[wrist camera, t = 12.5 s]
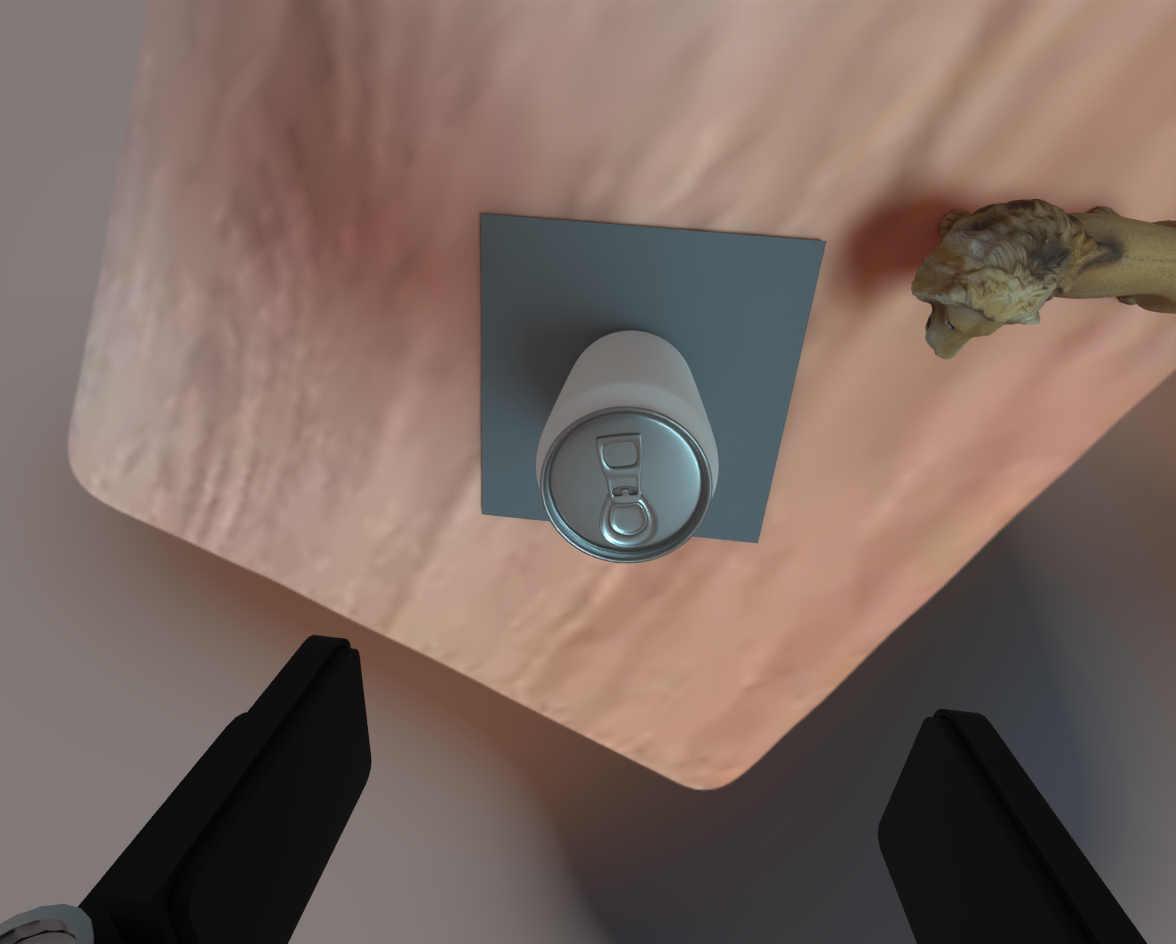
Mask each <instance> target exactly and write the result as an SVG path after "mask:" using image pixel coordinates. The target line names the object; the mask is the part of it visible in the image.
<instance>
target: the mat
mask: <svg viewBox="0 0 1176 944" xmlns="http://www.w3.org/2000/svg"><path fill="white" fill-rule="evenodd" d="M825 244H826V241H817V240H804V239H792V238H779V237H767V236H754V235H742V234H730V233H717V232H705V231H692V230H680V229H667V228H655V227H642V226H630V225H618V224H605V223H593V222H580V221H568V220H555V219H543V218H530V217H518V216H506V215H493V214H481V406H482V514H484V515H494V516H503V517H513V518H522V519H532V520H542V521H550V520H549V518H548V516H547V514H546V512H545V509H544V507H543V503H542V499H541V494H540V488H539V485H538V480H537V474H536V457H537V450H538V445H539V441H540V438H541V435H542V433H543V430H544V427H545V425H546V423H547V421H548V418H549V416H550V414H551V412H552V410H553V408H554V405H555V403H556V401H557V399H558V397H559V395H560V393H561V391H562V388H563V386H564V384H565V382H566V380H567V378H568V376H569V374H570V372H571V370H572V368H573V366H574V364H575V363H576V361H577V360H578V358H579V357H580V355H581V354H582V353H583V352H584V351H585V350H586V349H587V348H588V347H589V346H590V345H591V344H592V343H594V342H595V341H597V340H598V339H600V338H602V337H604V336H606V335H609V334H612V333H615V332H620V331H629V330H634V331H643V332H647V333H651V334H654V335H656V336H659V337H661V338H662V339H664V340H666V341H667V342H669V343H670V344H671V345H672V346H674V347H675V348H676V349H677V350H678V351H679V353H680V354H681V355H682V356H683V358H684V359H685V361H686V363H687V365H688V367H689V369H690V371H691V373H692V376H693V379H694V381H695V384H696V387H697V389H698V392H699V395H700V398H701V400H702V403H703V406H704V409H705V412H706V415H707V417H708V420H709V423H710V426H711V429H712V432H713V435H714V439H715V443H716V447H717V452H718V463H719V471H718V480H717V485H716V489H715V492H714V494H713V497H712V499H711V503H710V507H709V510H708V512H707V515H706V517H705V519H704V521H703V523H702V524H701V526H700V527H699V529H698V530H697V531H696V532H695V534H694V535H693V536H694V537H704V538H713V539H723V540H732V541H742V542H751V543H758V540H759V536H760V531H761V527H762V523H763V518H764V514H765V509H766V505H767V500H768V496H769V492H770V487H771V483H772V478H773V474H774V469H775V465H776V461H777V456H778V452H779V447H780V443H781V439H782V434H783V430H784V425H785V421H786V416H787V412H788V408H789V403H790V399H791V394H792V390H793V385H794V381H795V377H796V372H797V368H798V363H799V359H800V354H801V350H802V346H803V341H804V337H805V332H806V328H807V323H808V319H809V315H810V310H811V306H812V301H813V297H814V292H815V288H816V284H817V279H818V275H819V270H820V266H821V261H822V257H823V253H824V248H825Z"/></svg>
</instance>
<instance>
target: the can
mask: <svg viewBox="0 0 1176 944" xmlns="http://www.w3.org/2000/svg"><path fill="white" fill-rule="evenodd" d="M718 471H719V463H718V452H717V447H716V443H715V439H714V435H713V432H712V429H711V426H710V423H709V420H708V417H707V415H706V412H705V409H704V406H703V403H702V400H701V398H700V395H699V392H698V389H697V387H696V384H695V381H694V379H693V376H692V373H691V371H690V369H689V367H688V365H687V363H686V361H685V359H684V358H683V356H682V355H681V354H680V353H679V351H678V350H677V349H676V348H675V347H674V346H672V345H671V344H670V343H669V342H667V341H666V340H664V339H662V338H661V337H659V336H656V335H654V334H651V333H647V332H643V331H634V330H629V331H620V332H615V333H612V334H609V335H606V336H604V337H602V338H600V339H598V340H597V341H595V342H594V343H592V344H591V345H590V346H589V347H588V348H587V349H586V350H585V351H584V352H583V353H582V354H581V355H580V357H579V358H578V360H577V361H576V363H575V364H574V366H573V368H572V370H571V372H570V374H569V376H568V378H567V380H566V382H565V384H564V386H563V388H562V391H561V393H560V395H559V397H558V399H557V401H556V403H555V405H554V408H553V410H552V412H551V414H550V416H549V418H548V421H547V423H546V425H545V427H544V430H543V433H542V435H541V438H540V441H539V445H538V450H537V457H536V474H537V480H538V485H539V488H540V494H541V499H542V503H543V507H544V509H545V512H546V514H547V516H548V518H549V520H550V522H551V523H552V525H553V526H554V528H555V529H556V530H557V532H558V533H559V534H560V535H561V536H562V537H563V538H564V539H565V540H566V541H567V542H568V543H570V544H571V545H572V546H574V547H575V548H577V549H578V550H580V551H582V552H583V553H585V554H587V555H590V556H592V557H595V558H597V559H601V560H604V561H609V562H615V563H639V562H646V561H650V560H654V559H657V558H660V557H662V556H665V555H667V554H669V553H671V552H673V551H674V550H676V549H678V548H679V547H680V546H682V545H683V544H684V543H686V542H687V541H688V540H689V539H690V538H691V537H692V536H693V535H694V534H695V532H696V531H697V530H698V529H699V527H700V526H701V524H702V523H703V521H704V519H705V517H706V515H707V512H708V510H709V507H710V503H711V499H712V497H713V494H714V492H715V489H716V485H717V480H718Z"/></svg>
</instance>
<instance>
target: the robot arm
mask: <svg viewBox="0 0 1176 944" xmlns="http://www.w3.org/2000/svg"><path fill="white" fill-rule="evenodd" d="M370 769H371V751H370V743H369V735H368V725H367V716H366V708H365V699H364V691H363V682H362V673H361V664H360V655H359V652H358V650H357V649H351V646H350V642H349V641H348V640H347V639H343V638H335V637H327V636H318V635H312V636H310V637H309V638H307V639H306V640H305V641H304V643H303V644H302V645H301V646H300V648H299V649H298V650H297V651H296V653H295V654H294V655H293V656H292V657H291V659H290V660H289V661H288V663H287V664H286V665H285V666H284V667H283V669H282V670H281V671H280V672H279V674H278V675H277V676H276V677H275V679H274V680H273V681H272V682H271V683H270V685H269V686H268V687H267V689H266V690H265V691H264V692H263V693H262V695H261V696H260V697H259V698H258V700H257V701H256V702H255V703H254V705H253V706H252V707H251V708H250V710H249V711H248V712H246V713H243V714H241V715H239V716H237V717H236V718H235V719H234V720H233V721H232V722H231V723H230V724H229V725H228V726H227V727H226V728H225V729H224V731H223V732H222V733H221V734H220V735H219V736H218V738H217V739H216V740H215V741H214V742H213V744H212V745H211V746H210V747H209V749H208V750H207V751H206V752H205V754H204V755H203V756H202V757H201V758H200V759H199V761H198V762H197V763H196V764H195V765H194V767H193V768H192V769H191V771H190V772H189V773H188V774H187V775H186V777H185V778H184V779H183V780H182V781H181V782H180V784H179V785H178V786H177V787H176V789H175V790H174V791H173V792H172V794H171V795H170V796H169V797H168V798H167V800H166V801H165V802H164V803H163V804H162V806H161V807H160V808H159V809H158V810H157V812H156V813H155V814H154V815H153V816H152V818H151V819H150V820H149V821H148V822H147V824H146V825H145V826H144V827H143V829H142V830H141V831H140V832H139V834H138V835H137V836H136V837H135V838H134V840H133V841H132V842H131V843H130V844H129V846H128V847H127V848H126V849H125V851H124V852H123V853H122V854H121V855H120V856H119V858H118V859H117V860H116V861H115V863H114V864H113V865H112V866H111V867H110V869H109V870H108V871H107V872H106V873H105V875H104V876H103V877H102V878H101V880H100V881H99V882H98V883H97V884H96V886H95V887H94V888H93V889H92V890H91V892H90V893H89V894H88V895H87V897H86V898H85V899H84V900H83V901H82V902H81V904H80V905H79V906H78V907H74V906H70V905H66V904H60V905H49V906H41V907H38V908H35V909H33V910H30V911H27V912H24V913H21V914H18V915H16V916H14V917H12V918H10V919H8V920H7V921H5V922H3V923H1V924H0V944H288V942H289V940H290V938H291V936H292V934H293V932H294V930H295V928H296V926H297V924H298V921H299V920H300V918H301V915H302V914H303V912H304V910H305V907H306V905H307V903H308V901H309V899H310V897H311V895H312V893H313V891H314V889H315V887H316V885H317V883H318V881H319V879H320V877H321V875H322V873H323V871H324V869H325V867H326V865H327V863H328V861H329V858H330V856H331V854H332V852H333V850H334V848H335V846H336V844H337V842H338V840H339V838H340V836H341V834H342V832H343V830H344V828H345V826H346V824H347V822H348V820H349V818H350V816H351V814H352V811H353V809H354V807H355V805H356V803H357V801H358V799H359V797H360V795H361V793H362V791H363V789H364V787H365V785H366V782H367V780H368V777H369V773H370ZM878 840H879V846H880V849H881V852H882V855H883V857H884V860H885V862H886V865H887V867H888V870H889V873H890V875H891V877H892V880H893V883H894V886H895V888H896V891H897V893H898V896H899V898H900V901H901V904H902V906H903V908H904V911H905V914H906V916H907V919H908V922H909V924H910V927H911V929H912V932H913V934H914V937H915V940H916V942H917V944H1147V943H1146V941H1145V940H1144V939H1143V937H1142V936H1141V934H1140V933H1139V931H1138V930H1137V929H1136V927H1135V926H1134V924H1133V923H1132V922H1131V920H1130V919H1129V917H1128V916H1127V915H1126V914H1125V912H1124V910H1123V909H1122V908H1121V906H1120V905H1119V904H1118V902H1117V900H1116V899H1115V898H1114V896H1113V895H1112V894H1111V892H1110V891H1109V889H1108V888H1107V886H1106V885H1105V884H1104V882H1103V881H1102V879H1101V878H1100V877H1099V875H1098V874H1097V872H1096V871H1095V870H1094V868H1093V867H1092V866H1091V864H1090V862H1089V861H1088V860H1087V858H1086V857H1085V856H1084V854H1083V853H1082V851H1081V850H1080V848H1079V847H1078V846H1077V844H1076V843H1075V841H1074V840H1073V839H1072V838H1071V836H1070V834H1069V833H1068V832H1067V830H1066V829H1065V828H1064V826H1063V824H1062V823H1061V822H1060V820H1059V819H1058V818H1057V816H1056V815H1055V813H1054V812H1053V810H1052V809H1051V808H1050V806H1049V805H1048V804H1047V802H1046V801H1045V799H1044V798H1043V796H1042V795H1041V794H1040V792H1039V791H1038V790H1037V788H1036V786H1035V785H1034V784H1033V782H1032V781H1031V779H1030V778H1029V777H1028V775H1027V774H1026V773H1025V771H1024V770H1023V768H1022V767H1021V765H1020V764H1019V763H1018V761H1017V760H1016V758H1015V757H1014V755H1013V754H1012V753H1011V751H1010V750H1009V748H1008V747H1007V746H1006V744H1005V743H1004V741H1003V740H1002V739H1001V737H1000V736H999V734H998V733H997V732H996V730H995V729H994V727H993V726H992V724H991V723H990V722H989V721H988V720H987V719H986V718H985V716H983V715H981V714H979V713H973V712H964V711H955V710H947V709H939V710H938V711H936V712H935V714H934V716H933V717H927V718H926V719H925V720H924V722H923V723H922V726H921V728H920V730H919V733H918V735H917V737H916V740H915V743H914V744H913V747H912V749H911V751H910V754H909V756H908V759H907V761H906V763H905V765H904V768H903V770H902V772H901V775H900V777H899V779H898V782H897V784H896V786H895V789H894V791H893V793H892V796H891V798H890V800H889V802H888V805H887V807H886V809H885V812H884V814H883V816H882V819H881V821H880V823H879V828H878Z"/></svg>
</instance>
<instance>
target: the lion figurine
mask: <svg viewBox="0 0 1176 944" xmlns="http://www.w3.org/2000/svg"><path fill="white" fill-rule="evenodd" d="M940 234H941V235H942V236H943V237H942V239H941V242H942V243H941V244H940V245H939V246H938V247H937V248H935V249H934V250H933V251H932V252H931V254H930V255H929V256H928V257H927V258H925V259H924V261H923V265H921V266H920V267H919V269H918V271H917V272H916V276H915V279H914V281H913V282H912V287H911V290H912V294H913V295H915V296H916V297H917V298H918V299H919V300H921V301H923V302H927V303H929V304H931V306H932V313H931V315H930V316H929V318H928V321H927V323H926V326H925V330H926V335H925V338H926V341H927V343H928V344H929V346H930V347H932V348H933V349H934V351H935V354H936V355H938V356H939V357H940V358H942V359H950V358H952V357H954V356H955V355H956V354H957V353H958V351H959V350H960V349H961V348H962V347H963V346H964V345H965V344H966V343H967V342H968V341H969V340H970V339H971V338H973V337H978V336H985V335H990V334H992V333H994V332H995V331H996V330H997V329H998V328H999V327H1001V326H1003V325H1006V324H1026V325H1027V324H1039V323H1040V316H1039V312H1038V311H1039V310H1040V308H1041V307H1042V306H1043V305H1044V303H1045V302H1046V301H1048V300H1051V299H1052V298H1053V297H1061V298H1071V299H1085V298H1103V297H1115V296H1119V297H1120V299H1121V301H1122V302H1123V303H1125V304H1127V305H1134V304H1137V305H1138V306H1140V307H1142V308H1143V309H1146V310H1149V311H1154V312H1160V313H1172V314H1175V313H1176V221H1170V220H1169V221H1158V222H1153V223H1150V222H1145V221H1140V220H1135V219H1129V218H1125V217H1121V216H1120V215H1118V214H1117V213H1115V212H1114V211H1113V210H1112V209H1111V208H1109V207H1098V208H1096V209H1094V210H1092V211H1090V213H1072V214H1067V213H1066V212H1065V211H1064V210H1063V209H1061V208H1059V207H1057V206H1054V205H1051V204H1049V203H1048V202H1045V201H1043V200H1040V199H1032V200H1015V201H1011V202H1008V203H1002V204H992V205H988V206H985V207H983V208H980V209H979V210H977V211H976V212H974V213H973V214H972V215H970V214H969V213H967V212H966V211H964V210H962V209H955V210H953V211H951V212H950V213H948V214H947V215H946V216H945V217H944V218H943V220H942V221H941V223H940Z"/></svg>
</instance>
